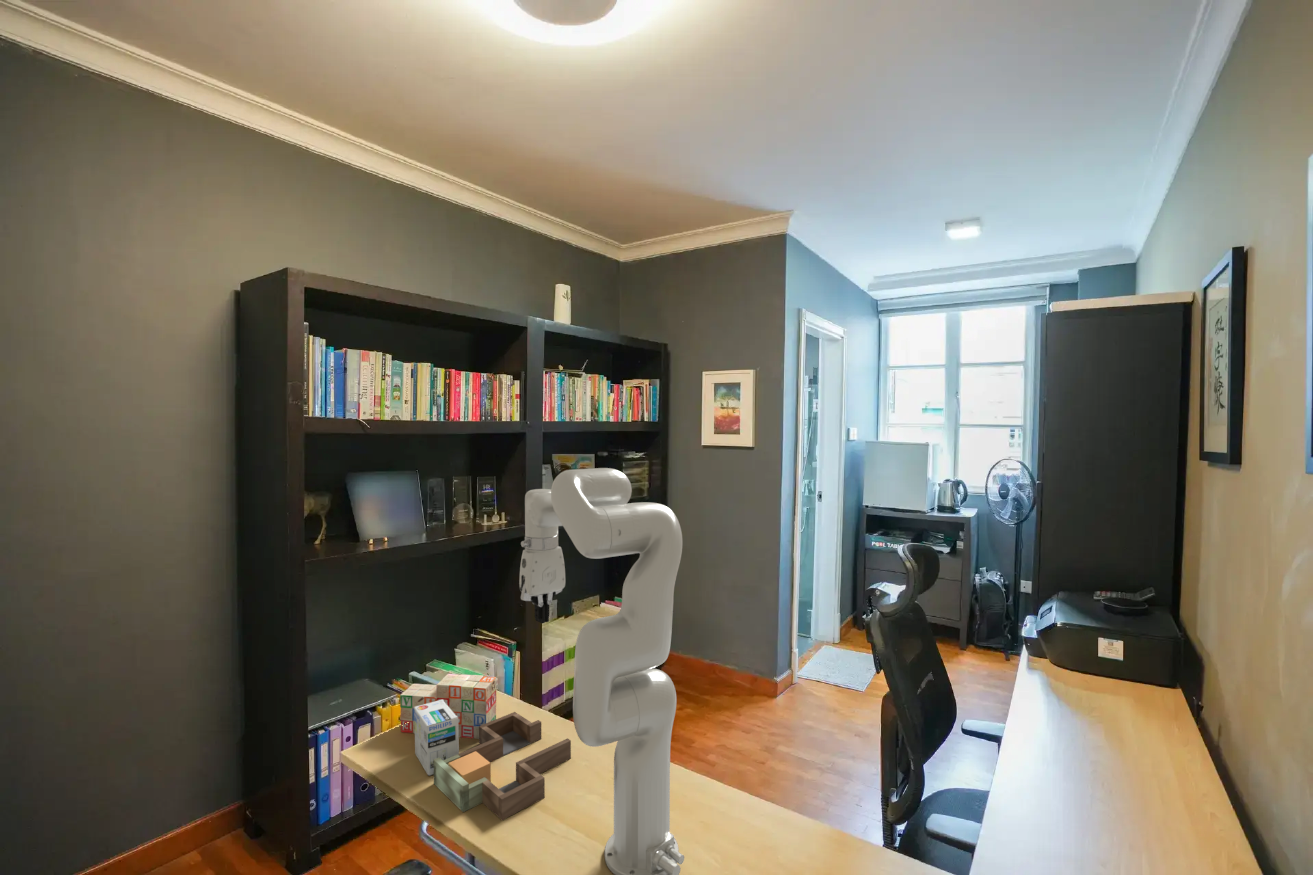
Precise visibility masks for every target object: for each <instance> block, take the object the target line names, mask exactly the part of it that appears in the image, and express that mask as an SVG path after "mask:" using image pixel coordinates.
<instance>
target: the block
mask: <svg viewBox="0 0 1313 875" xmlns="http://www.w3.org/2000/svg"><path fill="white" fill-rule="evenodd" d="M448 764H449V766H450V767H451V768H452V769H453V770H454V771H455V772H456V773H457V774H459V775H460V776H461V777H462V778H463V779H464V780H465V781H466V782H467V783H469V784H471V783H473V782H475V781H478V780H480V779H482V778H484V777H485V778H486V779H488V780H489V781H490V782H491V781H492V776H491V775H492V774H491V770H492V769H491V766H492V762H489V761H487V760H486V759H485V758H484V757H483V756H481V755H480V754H479V753H478V752H476V751H475V752H473V753H470V754H468V755H466V756H463V757H461V758H459V759H456V760H454V761H452V762H449V763H448ZM491 783H492V782H491Z"/></svg>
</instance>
